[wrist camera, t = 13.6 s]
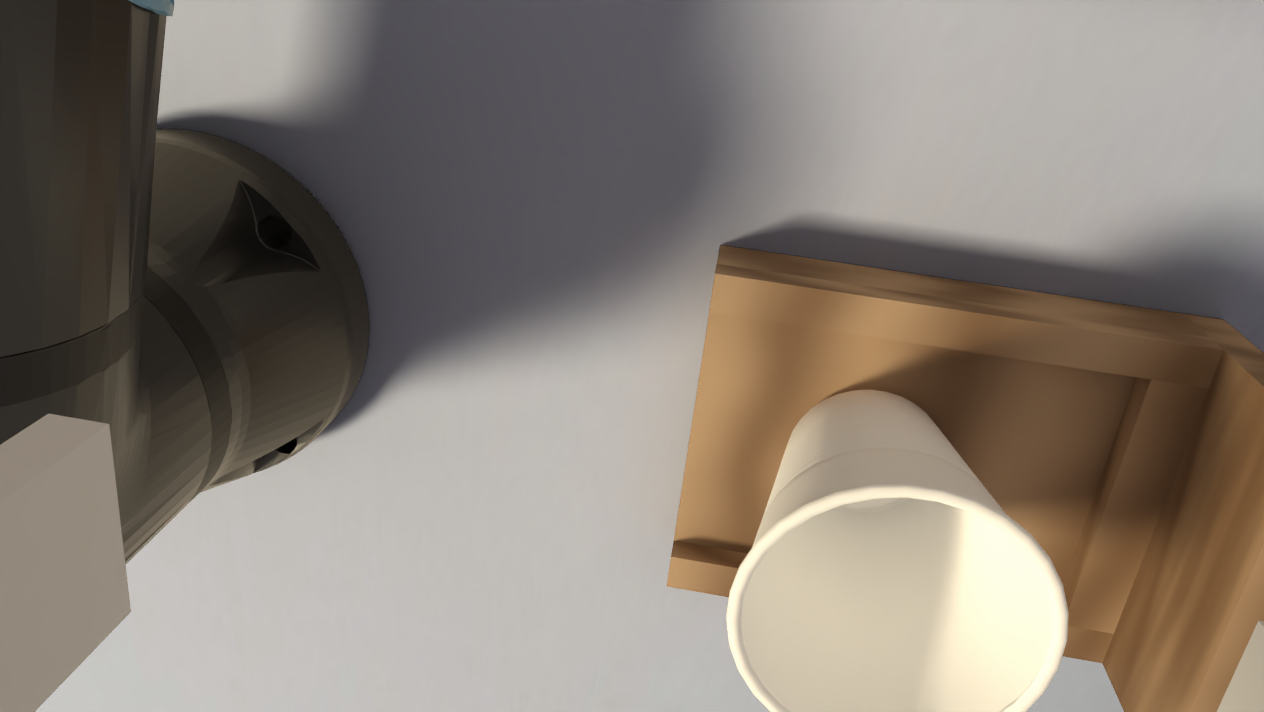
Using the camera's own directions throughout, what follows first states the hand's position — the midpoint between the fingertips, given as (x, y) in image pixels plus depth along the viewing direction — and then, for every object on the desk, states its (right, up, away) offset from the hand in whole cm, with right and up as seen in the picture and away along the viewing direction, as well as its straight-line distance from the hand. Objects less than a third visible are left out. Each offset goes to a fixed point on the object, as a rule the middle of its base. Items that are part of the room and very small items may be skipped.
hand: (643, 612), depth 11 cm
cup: (+9, -1, +28) cm, 29 cm away
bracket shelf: (+11, 0, +30) cm, 32 cm away
